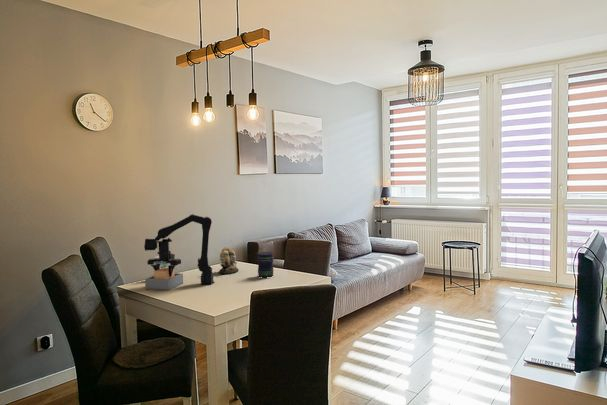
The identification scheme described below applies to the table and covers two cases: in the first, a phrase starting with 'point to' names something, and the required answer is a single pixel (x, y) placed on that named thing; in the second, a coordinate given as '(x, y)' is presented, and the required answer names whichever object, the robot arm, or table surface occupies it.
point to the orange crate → (163, 274)
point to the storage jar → (265, 264)
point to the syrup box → (162, 264)
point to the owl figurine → (228, 261)
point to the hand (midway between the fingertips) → (164, 276)
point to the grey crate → (164, 282)
